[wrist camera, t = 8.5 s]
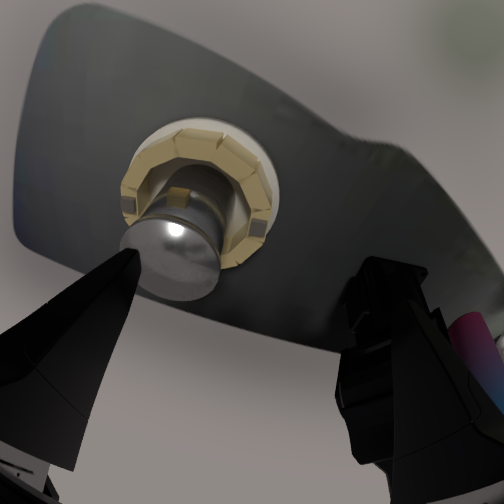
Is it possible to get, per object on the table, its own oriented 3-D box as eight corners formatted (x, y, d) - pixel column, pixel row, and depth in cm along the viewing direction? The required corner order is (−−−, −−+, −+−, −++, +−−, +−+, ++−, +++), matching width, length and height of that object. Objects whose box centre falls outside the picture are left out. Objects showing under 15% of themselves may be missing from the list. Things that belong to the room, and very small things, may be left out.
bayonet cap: (232, 240, 22) (214, 314, 17) (163, 227, 22) (127, 294, 16) (244, 162, 18) (224, 224, 13) (163, 150, 18) (112, 204, 12)
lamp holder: (295, 131, 17) (297, 150, 15) (263, 259, 24) (260, 291, 22) (133, 110, 17) (106, 125, 14) (138, 235, 24) (121, 263, 21)
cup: (432, 339, 30) (455, 450, 19) (463, 304, 26) (501, 426, 14) (466, 341, 30) (491, 439, 19) (496, 308, 26) (532, 414, 14)
